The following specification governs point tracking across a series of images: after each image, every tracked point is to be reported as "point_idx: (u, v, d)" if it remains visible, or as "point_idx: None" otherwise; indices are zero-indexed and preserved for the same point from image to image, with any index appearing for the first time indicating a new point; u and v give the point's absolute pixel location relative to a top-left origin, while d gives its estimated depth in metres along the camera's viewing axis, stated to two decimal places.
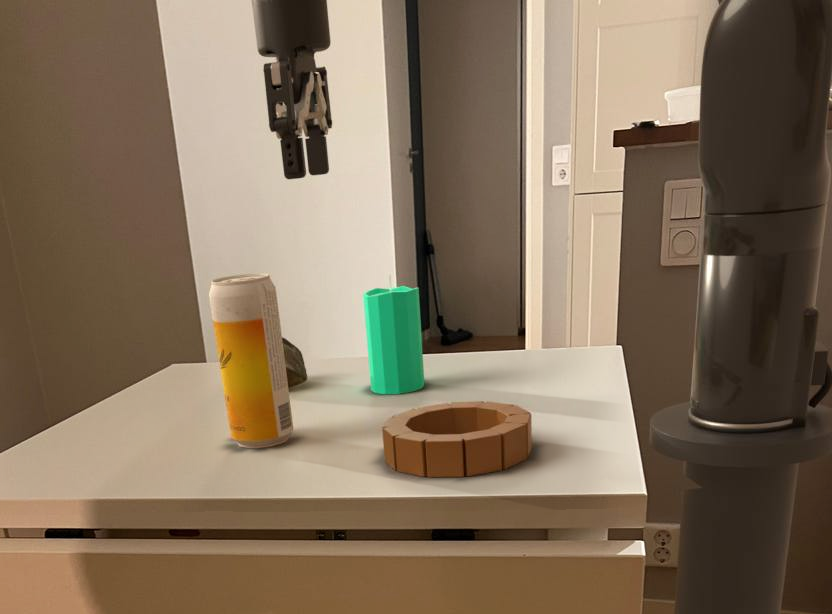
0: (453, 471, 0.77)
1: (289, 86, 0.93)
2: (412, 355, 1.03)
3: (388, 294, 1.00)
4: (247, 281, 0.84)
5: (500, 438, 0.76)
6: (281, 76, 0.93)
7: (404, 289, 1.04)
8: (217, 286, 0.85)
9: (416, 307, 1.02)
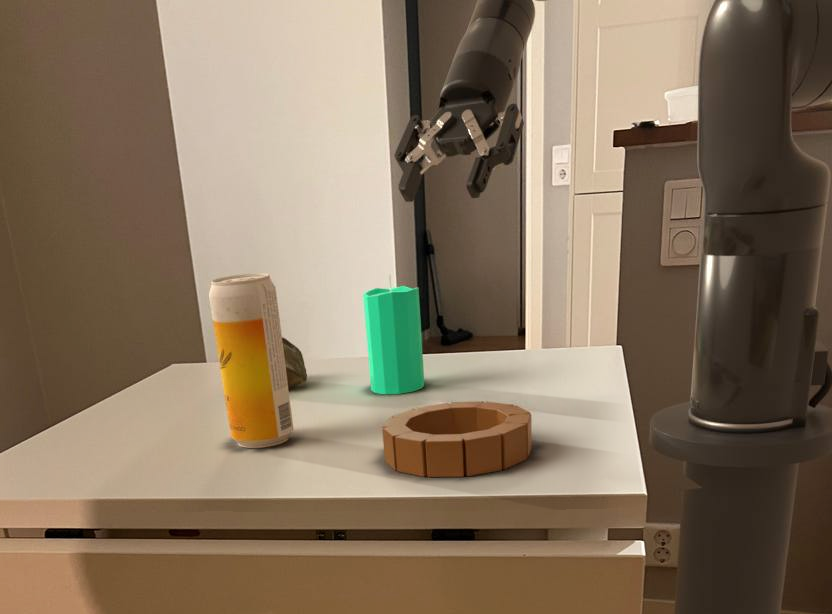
0: (453, 471, 0.77)
1: (407, 131, 1.11)
2: (412, 355, 1.03)
3: (388, 294, 1.00)
4: (247, 281, 0.84)
5: (500, 438, 0.76)
6: None
7: (404, 289, 1.04)
8: (217, 286, 0.85)
9: (416, 307, 1.02)
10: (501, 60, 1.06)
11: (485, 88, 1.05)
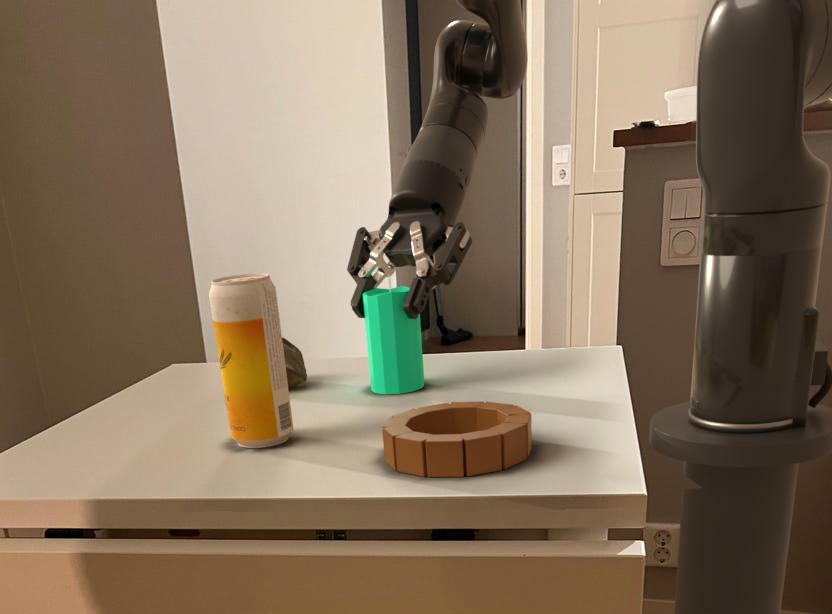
0: (453, 471, 0.77)
1: (356, 243, 1.06)
2: (412, 355, 1.03)
3: (388, 294, 1.00)
4: (247, 281, 0.84)
5: (500, 438, 0.76)
6: None
7: (404, 289, 1.04)
8: (217, 286, 0.85)
9: None
10: (451, 170, 1.02)
11: (434, 200, 1.01)
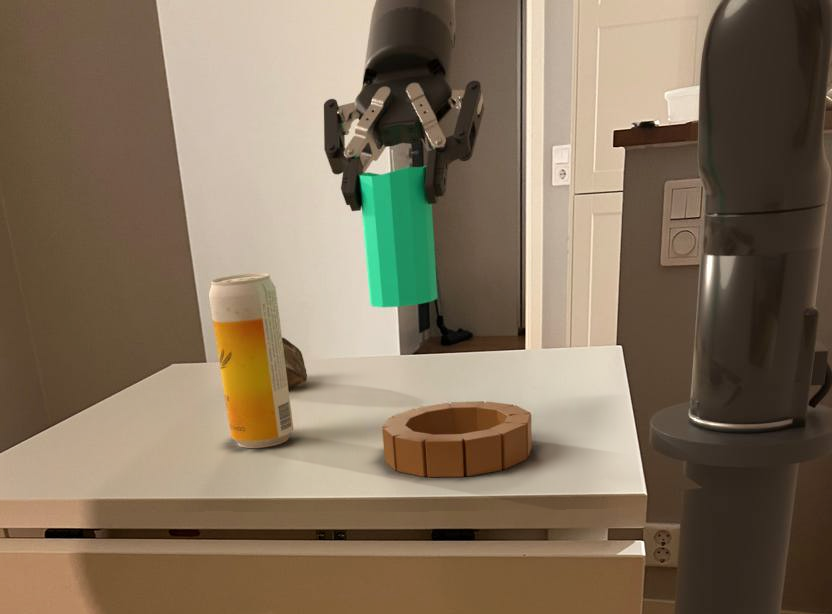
0: (453, 471, 0.77)
1: (328, 119, 0.82)
2: (429, 253, 0.81)
3: (403, 170, 0.77)
4: (247, 281, 0.84)
5: (500, 438, 0.76)
6: None
7: None
8: (217, 286, 0.85)
9: None
10: (442, 21, 0.81)
11: (433, 55, 0.80)
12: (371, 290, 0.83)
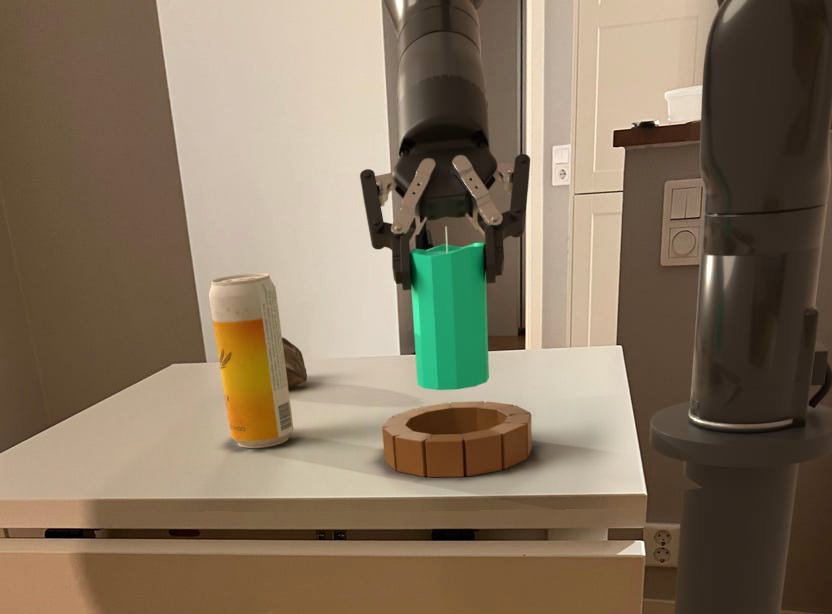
0: (453, 471, 0.77)
1: (367, 191, 0.77)
2: (485, 333, 0.77)
3: (465, 250, 0.73)
4: (247, 281, 0.84)
5: (500, 438, 0.76)
6: None
7: (449, 248, 0.77)
8: (217, 286, 0.85)
9: (485, 268, 0.76)
10: (480, 90, 0.77)
11: (478, 126, 0.76)
12: (423, 372, 0.78)
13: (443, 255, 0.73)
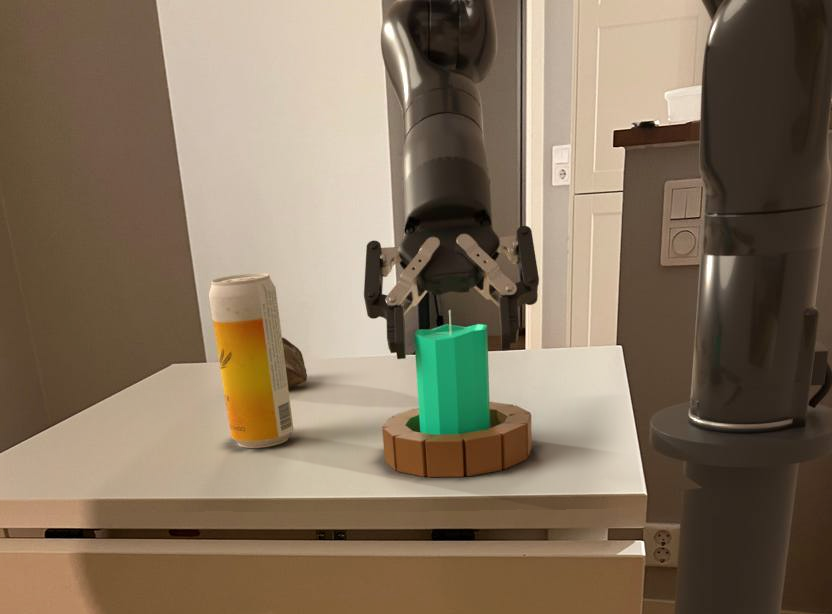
0: (453, 471, 0.77)
1: (370, 262, 0.79)
2: (487, 410, 0.80)
3: (468, 334, 0.76)
4: (247, 281, 0.84)
5: (500, 438, 0.76)
6: None
7: (452, 328, 0.80)
8: (217, 286, 0.85)
9: (487, 349, 0.79)
10: (483, 169, 0.80)
11: (480, 206, 0.78)
12: None
13: (446, 339, 0.76)
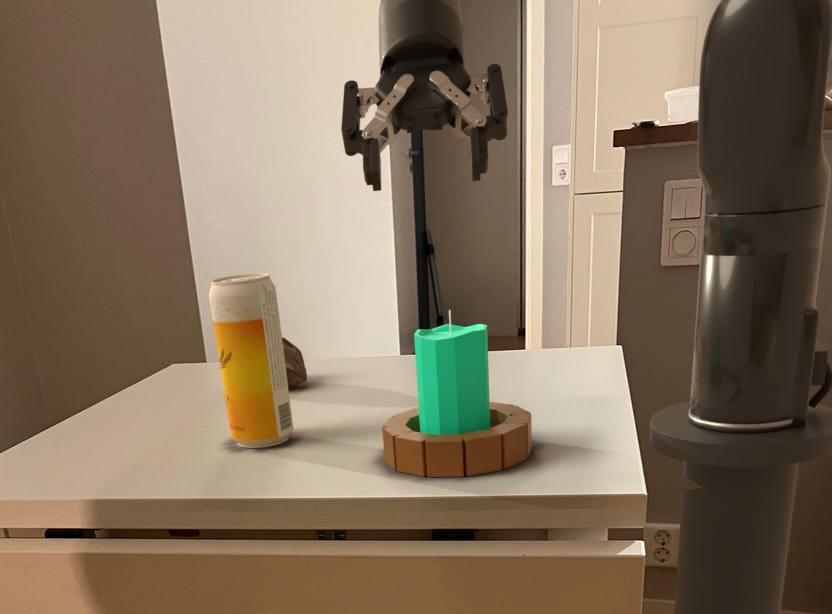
0: (453, 471, 0.77)
1: (347, 100, 0.83)
2: (487, 410, 0.80)
3: (468, 334, 0.76)
4: (247, 281, 0.84)
5: (500, 438, 0.76)
6: None
7: (452, 328, 0.80)
8: (217, 286, 0.85)
9: (487, 349, 0.79)
10: (455, 12, 0.84)
11: (453, 44, 0.82)
12: None
13: (446, 339, 0.76)
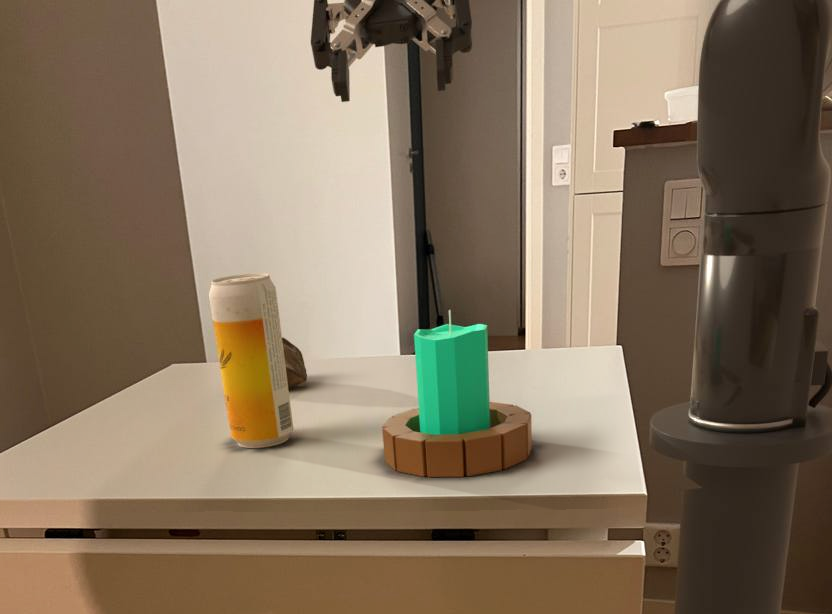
0: (453, 471, 0.77)
1: (317, 14, 0.86)
2: (487, 410, 0.80)
3: (468, 334, 0.76)
4: (247, 281, 0.84)
5: (500, 438, 0.76)
6: None
7: (452, 328, 0.80)
8: (217, 286, 0.85)
9: (487, 349, 0.79)
10: None
11: None
12: None
13: (446, 339, 0.76)
